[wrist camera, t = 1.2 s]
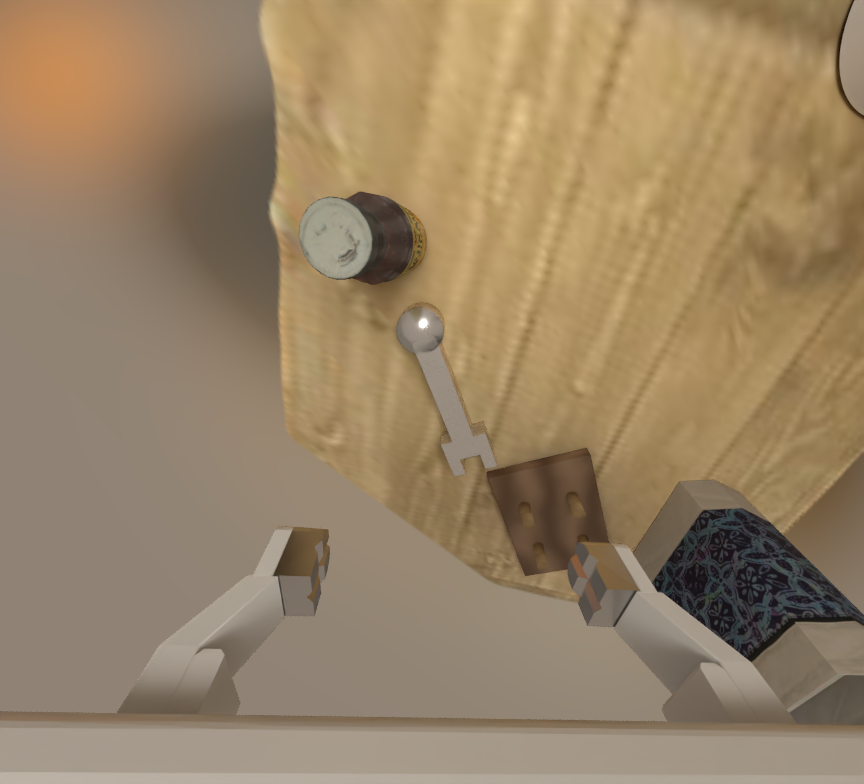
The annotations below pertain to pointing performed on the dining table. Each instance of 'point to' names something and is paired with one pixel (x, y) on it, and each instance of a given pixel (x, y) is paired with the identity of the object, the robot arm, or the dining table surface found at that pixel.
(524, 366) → the dining table surface
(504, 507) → the peg rack
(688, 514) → the bag
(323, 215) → the sauce bottle
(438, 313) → the ball-tipped notched rod
